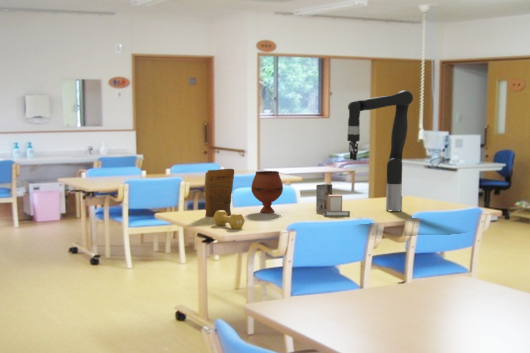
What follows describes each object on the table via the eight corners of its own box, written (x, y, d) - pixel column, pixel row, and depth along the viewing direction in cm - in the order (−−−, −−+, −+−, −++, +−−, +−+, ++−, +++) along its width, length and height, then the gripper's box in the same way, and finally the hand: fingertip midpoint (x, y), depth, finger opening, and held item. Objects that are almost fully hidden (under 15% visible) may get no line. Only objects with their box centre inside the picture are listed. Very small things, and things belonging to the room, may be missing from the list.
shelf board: (345, 213, 451) (345, 208, 451) (349, 216, 439) (349, 211, 439) (321, 213, 450) (321, 208, 449) (324, 216, 437) (324, 211, 437)
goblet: (245, 212, 451) (245, 171, 448) (263, 209, 466) (264, 169, 464) (270, 215, 439) (270, 173, 437) (288, 211, 455) (289, 171, 452)
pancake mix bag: (236, 216, 436) (236, 168, 433) (205, 218, 428) (205, 169, 425) (231, 214, 442) (232, 168, 439) (201, 216, 434) (201, 168, 431)
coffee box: (323, 208, 470) (324, 183, 468) (332, 209, 466) (332, 184, 465) (315, 210, 463) (316, 184, 461) (324, 211, 459) (324, 185, 457)
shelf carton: (327, 212, 448) (327, 194, 447) (340, 212, 449) (340, 194, 448) (328, 214, 443) (329, 195, 442) (342, 213, 444) (342, 195, 443)
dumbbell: (211, 225, 402) (211, 210, 401) (225, 224, 408) (225, 209, 407) (232, 230, 388) (232, 215, 387) (245, 228, 393) (246, 213, 392)
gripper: (345, 133, 464) (344, 158, 466) (350, 133, 450) (349, 160, 452) (356, 133, 465) (356, 158, 467) (362, 134, 451) (361, 160, 452)
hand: (353, 159), depth 459 cm, fingers open, 8 cm apart
